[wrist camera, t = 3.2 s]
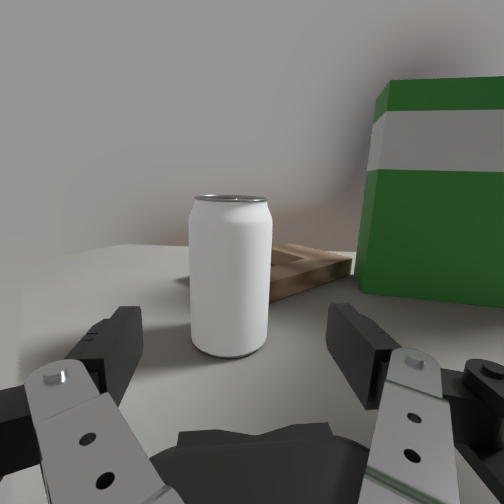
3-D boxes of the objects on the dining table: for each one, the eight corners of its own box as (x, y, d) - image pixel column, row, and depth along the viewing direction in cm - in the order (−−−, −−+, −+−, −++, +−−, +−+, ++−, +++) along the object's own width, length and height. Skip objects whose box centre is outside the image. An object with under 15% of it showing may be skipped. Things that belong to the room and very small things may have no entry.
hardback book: (487, 287, 39) (535, 96, 33) (524, 310, 32) (594, 73, 26) (353, 274, 43) (376, 99, 37) (361, 292, 36) (390, 80, 30)
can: (174, 340, 24) (169, 195, 21) (226, 313, 29) (227, 194, 26) (233, 372, 20) (237, 201, 17) (280, 335, 25) (289, 198, 22)
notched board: (290, 256, 51) (291, 243, 51) (350, 274, 43) (352, 258, 42) (192, 278, 39) (192, 261, 38) (250, 309, 30) (251, 287, 29)
